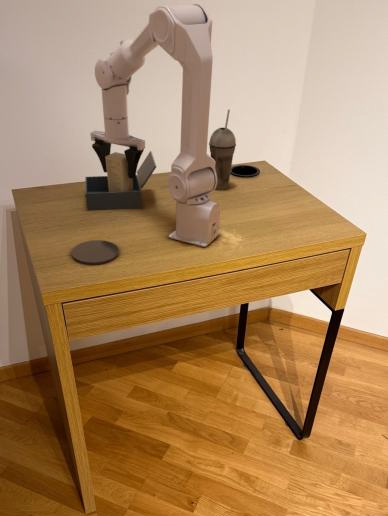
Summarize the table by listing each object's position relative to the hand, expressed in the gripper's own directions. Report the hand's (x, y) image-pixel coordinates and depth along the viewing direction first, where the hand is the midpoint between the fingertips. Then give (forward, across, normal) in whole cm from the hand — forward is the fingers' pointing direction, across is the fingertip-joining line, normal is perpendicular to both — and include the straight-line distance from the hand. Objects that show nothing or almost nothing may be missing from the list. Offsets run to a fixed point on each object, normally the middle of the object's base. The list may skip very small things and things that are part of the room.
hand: (119, 174), depth 125 cm
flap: (-1, -5, -4) cm, 7 cm away
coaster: (+7, -12, +27) cm, 30 cm away
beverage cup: (+7, -18, -22) cm, 29 cm away
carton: (+7, +2, +1) cm, 7 cm away
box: (+7, 0, 0) cm, 7 cm away
